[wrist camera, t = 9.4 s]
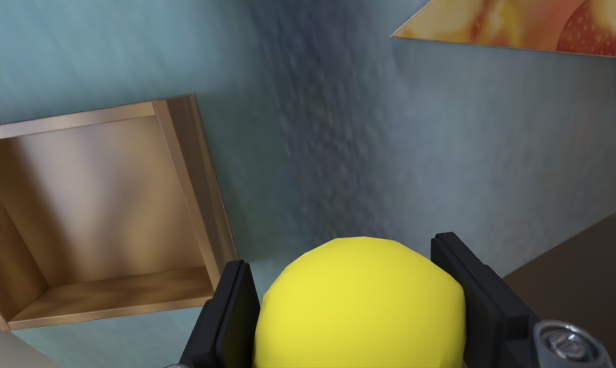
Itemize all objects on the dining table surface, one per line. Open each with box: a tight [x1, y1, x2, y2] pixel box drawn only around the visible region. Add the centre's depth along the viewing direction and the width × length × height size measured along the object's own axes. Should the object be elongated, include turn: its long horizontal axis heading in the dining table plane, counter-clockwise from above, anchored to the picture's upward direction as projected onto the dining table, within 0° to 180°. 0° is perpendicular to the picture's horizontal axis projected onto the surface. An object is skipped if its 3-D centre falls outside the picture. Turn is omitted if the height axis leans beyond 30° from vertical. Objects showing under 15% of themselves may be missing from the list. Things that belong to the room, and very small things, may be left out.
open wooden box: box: [0, 94, 239, 331], centre depth 21 cm, size 18×15×4 cm
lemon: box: [251, 237, 466, 368], centre depth 9 cm, size 7×5×5 cm
